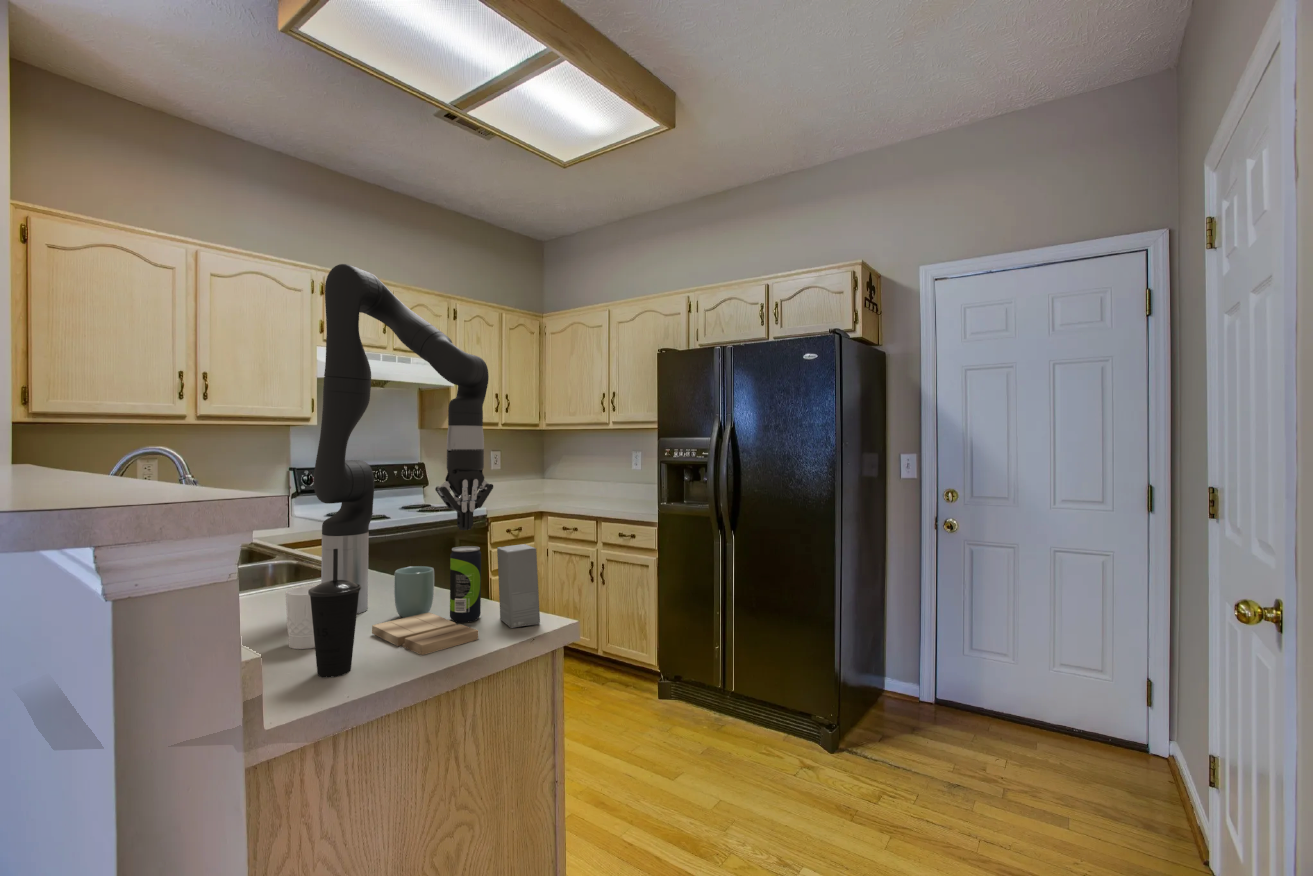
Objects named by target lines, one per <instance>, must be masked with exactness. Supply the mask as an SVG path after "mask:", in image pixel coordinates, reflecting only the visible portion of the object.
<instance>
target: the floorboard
mask: <svg viewBox="0 0 1313 876" xmlns="http://www.w3.org/2000/svg"><path fill="white" fill-rule="evenodd" d="M477 640H479V630H478V629H475V628H472V627H470V626H467V625H464V624H462V623H459V624H456V625H455V626H451V627H448V628H444V629H440V630H436V631H432V632H428V633H424V634H420V635H416V636H412V637H408V638H405V644H402V645H401V647H403V648H405V649H407V650H409V651H412V652H415V653H416V654H419V655H421V656H423V655H427V654H430V653H434V652H437V651H442V650H445V649H448V648H453V647H456V646H459V645H462V644H466V643H470V642H474V641H477Z"/></svg>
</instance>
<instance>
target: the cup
mask: <svg viewBox="0 0 1313 876" xmlns="http://www.w3.org/2000/svg"><path fill="white" fill-rule="evenodd" d="M393 578H394V580H393V581H394V582H393V583H394V585H393V587H394V590H393V591H394V593H393V595H394V605H395V610H396V612H397V614H398V616H399V617H401V618H406V617H411V616H415V615H420V614H424V613H429V612H430V611H431V610H432V607H433V603H434V595H435V569H434V567H431V566H424V565H423V566H422V565H420V566H419V565H418V566H417V565H416V566H407V567H401V568H398V569H396V570H395V571H394V577H393Z"/></svg>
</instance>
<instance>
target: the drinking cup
mask: <svg viewBox="0 0 1313 876" xmlns="http://www.w3.org/2000/svg"><path fill="white" fill-rule="evenodd" d="M316 585H317V586H315V587H313V588H311V589H309V590H308V594H309V595H310V599H311V609H312V620H313V631H314V642H315V648H314V650H315V661H316V671H317V672H316V673H317V676H318V677H319V678H328V679H329V678H336V677H340V676H344V675H346V674H349V673H350V672H351V671H352V670H351V669H352V664H353V663H352V660H353V654H354V653H353V652H354V645H355V635H356V634H355V632H356V624H357V615H358V613H357V607H358V597H359V591H360V590H361V585H359V584H356V583H353V582H351V581H347V580H338V549H333V580H331V581H327V582H323V583H319V584H316Z"/></svg>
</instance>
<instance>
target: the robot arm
mask: <svg viewBox="0 0 1313 876" xmlns="http://www.w3.org/2000/svg"><path fill="white" fill-rule="evenodd" d="M324 300H325V301H324V304H325V322H326V323H325V325H326V326H325V327H326V339H325V343H326V344H325V363H324V364H325V365H324V366H325V367H324V375H323V388H322V389H323V390H322V391H323V392H322V410H321V412H322V414H321V423H320V424H321V425H320V426H321V427H320V435H319V441H318V447H317V454H316V459H315V463H314V464H315V465H314V470H313V471H314V472H313V489H314V493H315V496H316V497H317V499H318V501H319V502H321V503H324V504H340V503H341V504H340V508H339V510H338V511H337V512H336V513H334V514H333V515H332V516H330V517H328V518H327V519H325V520H324V521H323V522H322V525H321V570H320V571H321V574H320V575H321V579H320V581H321V583H323V582H327V581H331V580H333V549H338V580H347V581H351V582H353V583H356V584H359V585H361V590H360V591H359V597H358V607H357V614H361V613H363V612H366V611H367V610H368V608H369V607H368V606H369V605H368V604H369V602H368V599H369V548H370V547H369V537H370V536H369V535H370V534H369V529H370V524H371V521H372V518H373V513H374V512H373V511H374V510H373V509H374V508H373V507H374V495H375V477H374V473H373V472H374V471H373V469H372V467H371V465H370V464H369V463H368V462H366V461H364V460H360V459H354V460H353V459H351V460H348V459H347V460H346V454H347V453H346V452H347V447H348V443H349V439H350V436H351V434H352V433H353V430H355V427H356V426H357V425H358V423H359V422H360V420H362V419H361V418H362V417H363V415H364V413H365V412H366V411H367V408H368V407H369V404H370V401H371V398H370V397H371V389H372V387H371V386H372V371H371V365H370V362H369V359H368V356H367V353H366V351H365V348H364V346H363V343H362V340H361V336H360V329H359V328H360V324H359V323H360V313H361V314H364V315H367V316H370V317H372V318H374V319H375V320H378V321H379V322H381V323H383V324H384V325H386V326H387V327H388V328H389V329H390V330H391V331H392V332H393V333H394V335H396V337H397V338H398V339H399V340H400V342H402V344H403V345H404V346H405V347H407V348H408V349H409V350H410V351H412V352H413V353H414V354H416V355H417V356H418V357H420V358H421V359H423V360H424V361H425V362H427V363H429V364H430V366H431V367H432V368H433V370H435V372H437V373H438V374H439V375H440V376H441V378H443V379H444V380H446V381H447V382H449V383H450V384H453V385H455V386H457V392H456V397H455V398H453V399H451V400H450V401H449V402H448V410H447V411H448V415H447V416H448V418H447V419H448V420H447V421H448V422H447V433H446V469H447V474H446V477H445V482H443V483H442V484H441V485H437V486H436V487H435V488H434V489H435V492H436V493H437V494H438V496H439V497H440V499H441V500H442V502H443V503H444V505H445V506H446V507H447V508H448V510H453V511H455V512H456V525H457V527H458V528H459V530H460V531H468V530H471V529H472V527H473V525H474V512H475V510H477V509H481V508H482V506H483V505H484V503H485V502H486V500H487V499H488V497H489V495H490V494H491V492H492V491H493V489H494V484H493V483H489V482H488V481H486V480H485V475H484V472H483V469H484V468H485V465H484V464H485V436H484V435H485V434H484V427H483V426H484V424H483V423H484V410H483V406H484V403H485V401H486V400H485V399H486V395H487V391H488V386H489V380H490V379H489V369H488V366H487V362H485V360H484V359H483V358H482V357H480V356H478V355H474V354H471V353H469V352H466V351H464V350H462V349H460V348H459V347H458V346H456V345H455V344H454V343H453V341H452V339H450V337H449V336H448V335H447V334H445V333H444V332H442V331H441V330H440V329H439V328H437V327H436V326H435V325H433V324H432V323H430V322H429V321H428V320H425V318H423V317H421V316H420V315H419V314H417V313H416V312H415V311H413V310H411V309H410V308H409V307H408V306H407V305H406V304H404V303H403V302H402V301H401V300H400V299H399V298H398V297H397V296H396V295H395V294H394V293H393V292H392V291H391V290H390V289H389V288H388V286H386V284H384V282H382V280H380V278H378V277H377V276H376V275H375V274H373V273H371V272H369V271H366V270H364V269H361V268H359V267H356V266H353V265H351V264H347V263H339V264H337V265H335V266H334V267H332V268H331V269H330V271H329V272H328V274H327V277H326V279H325V285H324ZM451 492H452V493H451ZM452 494H453V495H452ZM321 583H320V584H321Z"/></svg>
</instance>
